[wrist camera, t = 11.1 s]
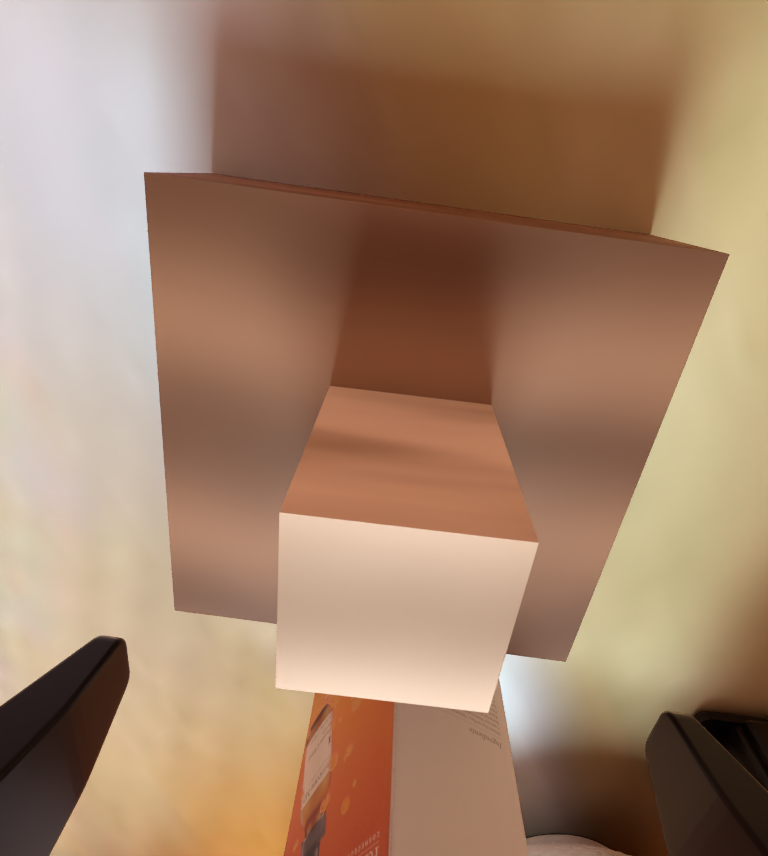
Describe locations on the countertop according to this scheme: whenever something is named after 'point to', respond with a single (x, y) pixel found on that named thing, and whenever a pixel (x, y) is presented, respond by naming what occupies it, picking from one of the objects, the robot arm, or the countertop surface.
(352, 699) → the small box
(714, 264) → the walnut block
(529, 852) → the cereal bowl
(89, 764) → the robot arm
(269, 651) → the countertop surface
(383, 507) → the maple block
